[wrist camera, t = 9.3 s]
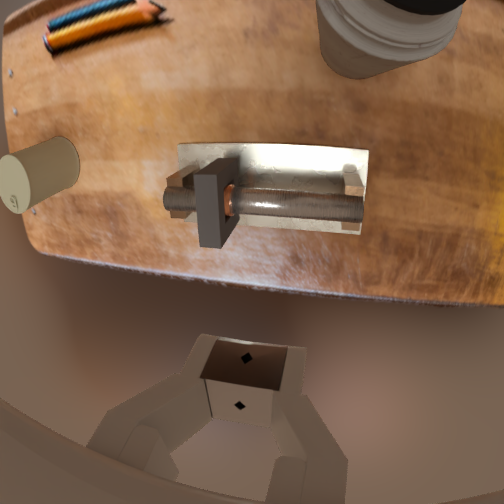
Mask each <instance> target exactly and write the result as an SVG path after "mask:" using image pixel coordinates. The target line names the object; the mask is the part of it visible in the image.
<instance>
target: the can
mask: <svg viewBox="0 0 504 504" xmlns="http://www.w3.org/2000/svg"><path fill="white" fill-rule="evenodd" d="M79 171H80V162H79V157H78V153H77V151H76V149H75V147H74V145H73V144H72V143H71V142H70V141H69V140H68V139H66V138H64V137H54V138H52V139H51V140H48V141H45V142H43V143H40V144H37V145H34V146H31V147H28V148H25V149H23V150H20V151H17V152H14V153H11V154H8V155H5V156H3V157H2V158H1V160H0V196H1V198H2V200H3V202H4V203H5V205H6V206H7V207H8V208H9V209H10V210H11V211H12V212H14V213H17V214H21V213H24V212H25V211H26V210H28V209H29V208H31V207H33V206H34V205H36V204H38V203H39V202H41V201H43V200H45V199H47V198H48V197H50V196H52V195H54V194H56V193H58V192H60V191H62V190H64V189H67V188H70V187H71V186H73V185H74V184H75V182H76V181H77V179H78V176H79Z"/></svg>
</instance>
